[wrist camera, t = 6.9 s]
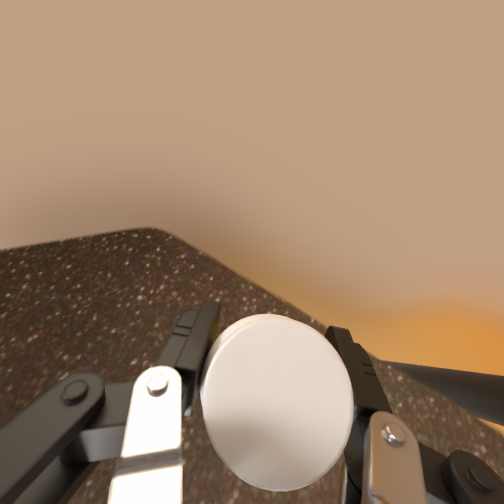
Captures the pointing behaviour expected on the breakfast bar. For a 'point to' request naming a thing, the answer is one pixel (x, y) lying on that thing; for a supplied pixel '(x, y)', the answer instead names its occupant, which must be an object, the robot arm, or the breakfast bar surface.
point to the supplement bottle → (276, 402)
